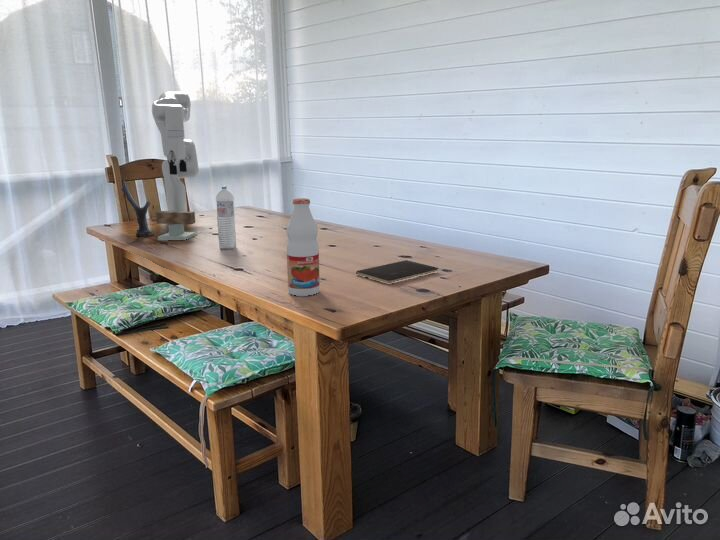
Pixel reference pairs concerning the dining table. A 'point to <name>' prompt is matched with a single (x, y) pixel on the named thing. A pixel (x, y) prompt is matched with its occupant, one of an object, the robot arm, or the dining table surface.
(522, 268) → the dining table surface
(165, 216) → the walnut bar
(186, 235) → the block
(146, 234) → the antler
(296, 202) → the fruit juice
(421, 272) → the hardcover book
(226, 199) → the water bottle
